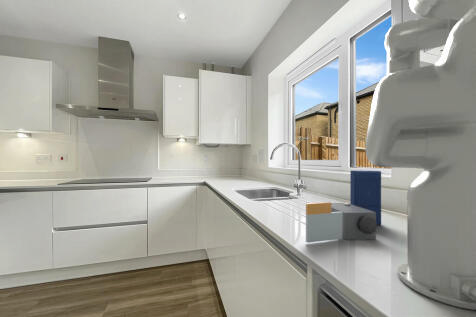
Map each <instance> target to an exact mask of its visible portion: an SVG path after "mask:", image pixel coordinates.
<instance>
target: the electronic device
mask: <svg viewBox="0 0 476 317" xmlns="http://www.w3.org/2000/svg"><path fill="white" fill-rule="evenodd" d="M349 181H350V182H349V183H350V188H349V190H350V191H349V192H350V199H349V200H350V204H352V205H355V206H358V207H361V208H364V209H367V210H370V211H373V212H376V223H377V226H381V225H382V171H381V170H350V180H349Z"/></svg>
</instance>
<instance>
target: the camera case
mask: <svg viewBox="0 0 476 317" xmlns="http://www.w3.org/2000/svg"><path fill="white" fill-rule="evenodd" d="M330 203H331V212H342V240H346V241H347V240H376V239H377V229H378V228H377V227H378V225H377V223H376V212H373V211H370V210H367V209H364V208H361V207H358V206H355V205H352V204H350V203H349V202H330Z"/></svg>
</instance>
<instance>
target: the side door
mask: <svg viewBox="0 0 476 317" xmlns="http://www.w3.org/2000/svg"><path fill="white" fill-rule="evenodd" d="M331 203H332V202H331V201H328V202H327V201H325V202H312V203H311V202H309V203H305V242H306V243H307V244H308V243H316V242H317V243H318V242H325V241H332V240H333V241H334V240H343V238H342V212H331Z"/></svg>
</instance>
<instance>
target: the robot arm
mask: <svg viewBox="0 0 476 317" xmlns="http://www.w3.org/2000/svg"><path fill="white" fill-rule="evenodd" d="M408 3H409V8H410V10H411V11H412V13H414V14H415V15H417V16H419V18H416V19H411V20H407V21H402V22H400V23H397V24H396V23H395V24H394V25H393V26H391V27H390V28H389V29H388V31H387V32H386V34H385V36H384V37H385V38H384V48H385V50H386V75H385V76H383V78H382V79H380V81H379V83H378V84H377V85H376V88H375V90H374V93H373V95H372V96H373V97H372V100H371V106H370V114H369V121H368V125H367V132H366V139H365V150H364V151H365V155H366V158H367V160H368V162H369V163H370V164H372V165H373V166H375V167H380V168H394V169H395V168H397V169H399V168H400V169H402V168H405V169H408V168H409V169H419V170H420V169H422V170H423V171H421V173H420V174H419V175H418V176H417V177H415V179H413V181H412V182H411V183H410V185H409V187H408V189H407V194H406V195H407V196H406V197H407V198H406V202H407V205H406V206H407V207H406V208H407V210H406V211H407V214H406V215H407V219H406V220H407V221H406V222H407V223H406V224H407V225H406V226H407V228H406V229H407V230H406V231H407V235H406V237H407V244H406V247H407V263H404V264H401V265H398V267H397V276H398V278H399V279H400V280H401V281H402V282H403V283H404V284H405V285H407V286H408V287H409V288H411V289H412V290H414V291H416V292H417V293H420V294H422V295H423V296H426V297H428V298H430V299H432V300H436V301H438V302H440V303H444V304H446V305H449V306H453V307H458V308H461V309H467V310H473V311H475V310H476V0H408ZM440 47H444V49H443V51H442V54H441V57H440V58H439V60H438V61H436V62H435V63H433V64H430V65H426V66H425V65H424V66H421V51H424V50H428V49H430V50H431V49H436V48H440Z"/></svg>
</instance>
